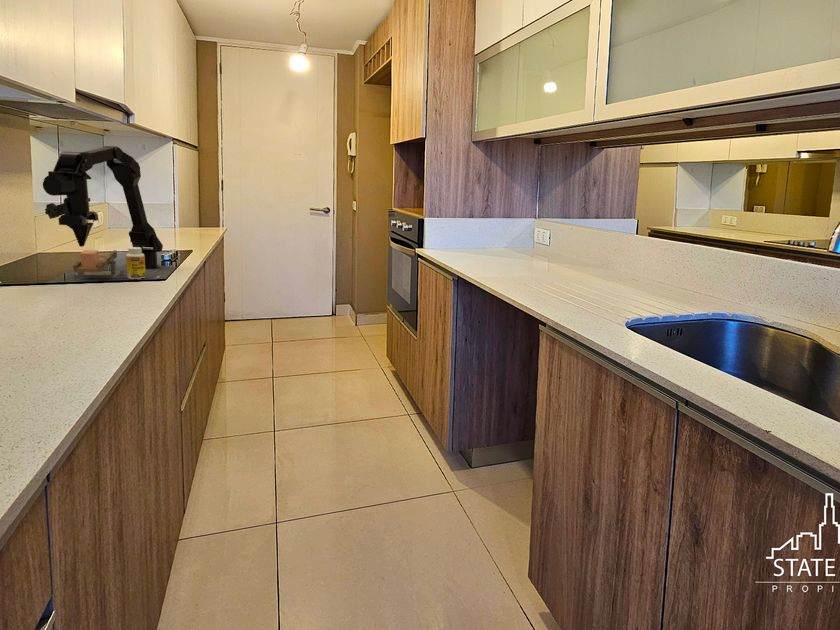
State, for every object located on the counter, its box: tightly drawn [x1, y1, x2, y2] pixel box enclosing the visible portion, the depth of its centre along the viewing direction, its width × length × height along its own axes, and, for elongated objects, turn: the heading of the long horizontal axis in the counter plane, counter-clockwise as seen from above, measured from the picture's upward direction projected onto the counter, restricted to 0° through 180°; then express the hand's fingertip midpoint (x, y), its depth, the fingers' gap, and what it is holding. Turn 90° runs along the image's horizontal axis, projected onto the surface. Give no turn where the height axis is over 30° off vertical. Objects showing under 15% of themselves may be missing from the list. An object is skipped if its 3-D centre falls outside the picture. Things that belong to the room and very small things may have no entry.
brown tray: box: [72, 250, 118, 273], centre depth 196 cm, size 22×8×2 cm, turn 15°
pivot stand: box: [73, 259, 121, 279], centre depth 197 cm, size 8×12×5 cm, turn 105°
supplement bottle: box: [125, 246, 147, 280], centre depth 195 cm, size 6×6×10 cm
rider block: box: [79, 249, 100, 267], centre depth 189 cm, size 5×4×4 cm
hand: (81, 246), depth 181 cm, fingers closed
